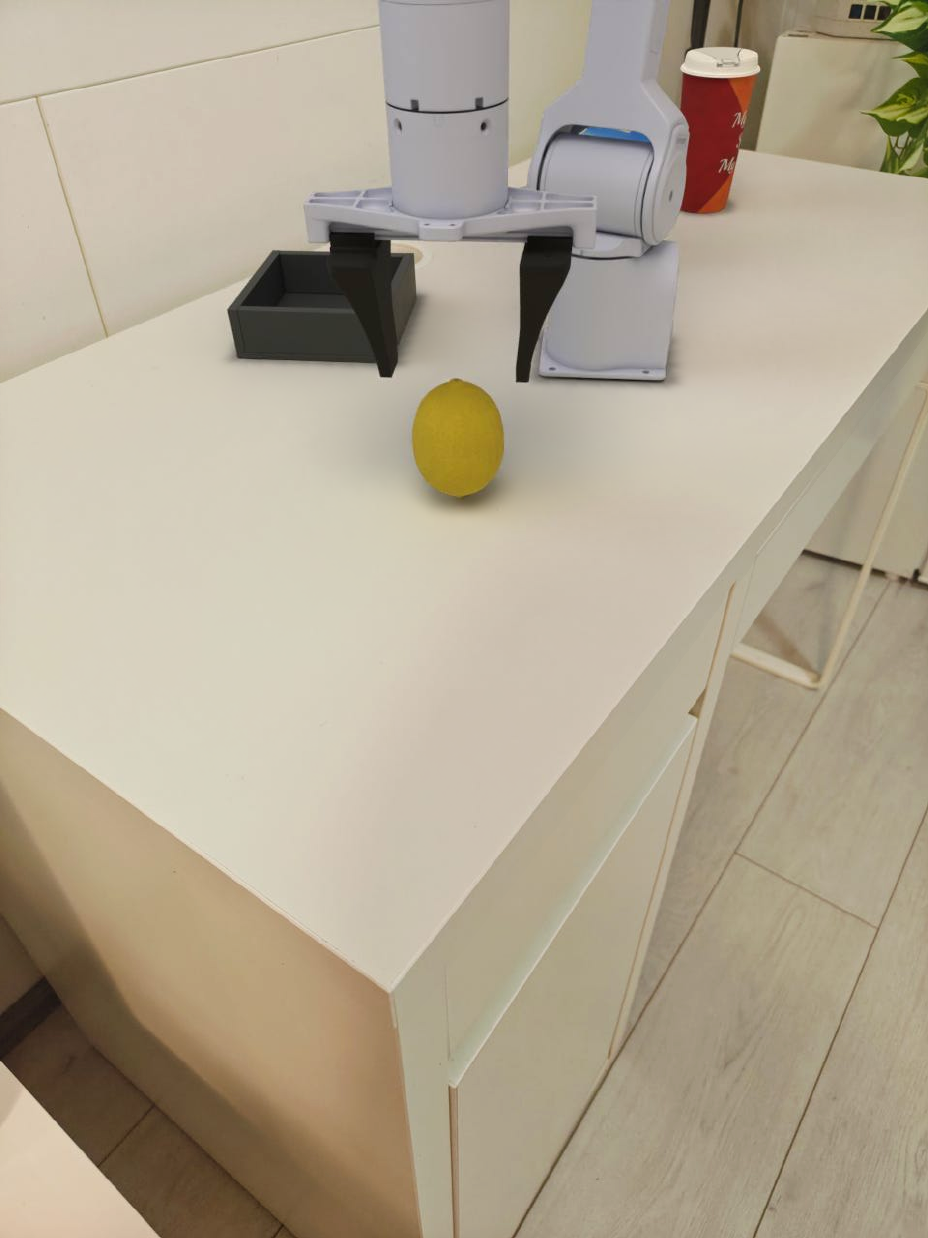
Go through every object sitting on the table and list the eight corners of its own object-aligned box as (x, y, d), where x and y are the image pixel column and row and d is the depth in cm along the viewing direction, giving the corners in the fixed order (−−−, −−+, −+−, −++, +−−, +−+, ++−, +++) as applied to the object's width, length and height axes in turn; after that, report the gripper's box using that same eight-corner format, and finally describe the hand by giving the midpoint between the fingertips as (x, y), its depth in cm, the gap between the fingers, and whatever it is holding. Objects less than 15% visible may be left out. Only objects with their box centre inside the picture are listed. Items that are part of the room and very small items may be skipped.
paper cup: (743, 215, 92) (771, 60, 82) (669, 217, 92) (689, 62, 83) (727, 192, 98) (752, 44, 88) (658, 193, 98) (675, 45, 88)
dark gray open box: (416, 298, 78) (414, 252, 76) (391, 363, 69) (386, 313, 66) (280, 294, 80) (272, 249, 77) (237, 357, 70) (226, 309, 68)
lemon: (495, 526, 53) (495, 407, 48) (406, 517, 54) (396, 399, 48) (510, 476, 57) (511, 360, 52) (427, 468, 58) (420, 354, 52)
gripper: (270, 119, 38) (313, 401, 47) (605, 121, 37) (583, 412, 46) (310, 83, 43) (342, 343, 53) (605, 83, 42) (585, 351, 51)
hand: (455, 371), depth 50 cm, fingers open, 7 cm apart
